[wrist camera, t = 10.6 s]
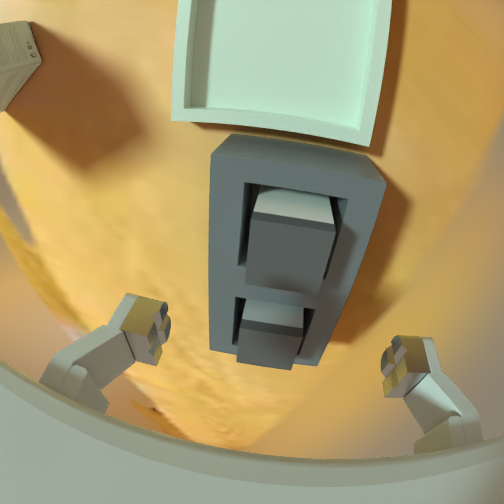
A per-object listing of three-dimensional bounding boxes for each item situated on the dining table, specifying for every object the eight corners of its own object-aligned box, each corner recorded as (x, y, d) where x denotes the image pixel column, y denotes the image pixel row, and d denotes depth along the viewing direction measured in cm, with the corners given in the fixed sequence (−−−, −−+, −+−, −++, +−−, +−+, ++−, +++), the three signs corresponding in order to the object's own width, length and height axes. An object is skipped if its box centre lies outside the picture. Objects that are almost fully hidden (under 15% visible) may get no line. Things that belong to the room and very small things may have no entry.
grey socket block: (231, 133, 18) (207, 157, 14) (367, 155, 18) (390, 187, 13) (222, 307, 27) (208, 355, 23) (316, 322, 27) (316, 372, 22)
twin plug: (253, 269, 23) (239, 327, 18) (303, 277, 23) (302, 337, 18) (248, 305, 25) (236, 362, 20) (294, 312, 25) (290, 370, 20)
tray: (195, -43, 11) (186, -51, 9) (385, -23, 10) (393, -31, 9) (181, 116, 18) (171, 120, 16) (363, 140, 17) (369, 147, 16)
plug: (264, 175, 18) (250, 218, 14) (326, 184, 18) (335, 232, 13) (258, 228, 21) (244, 283, 16) (314, 236, 21) (317, 295, 16)
